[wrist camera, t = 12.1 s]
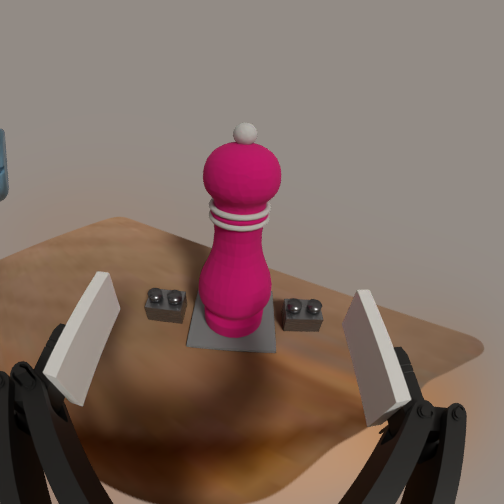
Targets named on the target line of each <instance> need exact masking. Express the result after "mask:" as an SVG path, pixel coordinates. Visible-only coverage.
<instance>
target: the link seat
mask: <svg viewBox="0 0 504 504" xmlns="http://www.w3.org/2000/svg"><path fill="white" fill-rule="evenodd" d="M204 307H205V305H204V304H203V303H202V301H201V298H200V295H199V289H198V294H197V298H196V302H195V307H194V311H193V316H192V321H191V325H190V330H189V335H188V340H187V347H195V348H204V349H215V350H228V351H242V352H262V353H276V341H275V325H274V310H273V295H272V291H271V296H270V299H269V301H268V303H267V305H266V306H265V307H264V308H263V315H262V320H261V324H260V326H259V327H258V328H257V330H255V331H254V332H253V333H251V334H249V335H247V336H244V337H240V338H228V337H225V336H222V335H219V334H217V333H215V332H214V331H213V330H212V329H211V328H210V327H209V326H208V324H207V323H206V319H205V308H204Z"/></svg>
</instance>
